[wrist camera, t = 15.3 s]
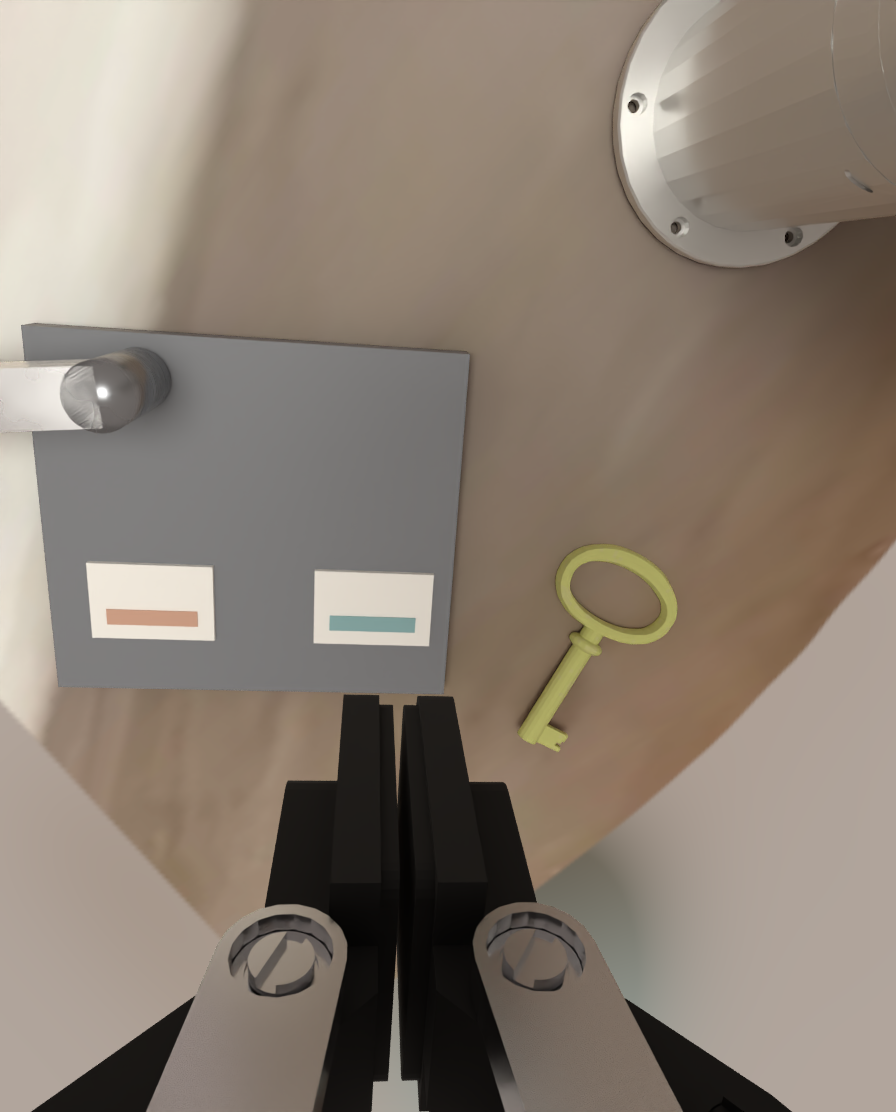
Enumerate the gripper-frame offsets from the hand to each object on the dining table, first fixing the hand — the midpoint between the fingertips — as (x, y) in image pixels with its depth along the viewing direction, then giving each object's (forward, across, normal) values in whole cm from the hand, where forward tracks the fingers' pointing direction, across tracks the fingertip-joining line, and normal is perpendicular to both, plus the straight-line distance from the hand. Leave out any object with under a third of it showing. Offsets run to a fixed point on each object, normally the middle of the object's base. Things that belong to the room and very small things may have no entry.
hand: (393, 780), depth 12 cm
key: (+30, -12, +11) cm, 34 cm away
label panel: (+29, +6, +5) cm, 30 cm away
